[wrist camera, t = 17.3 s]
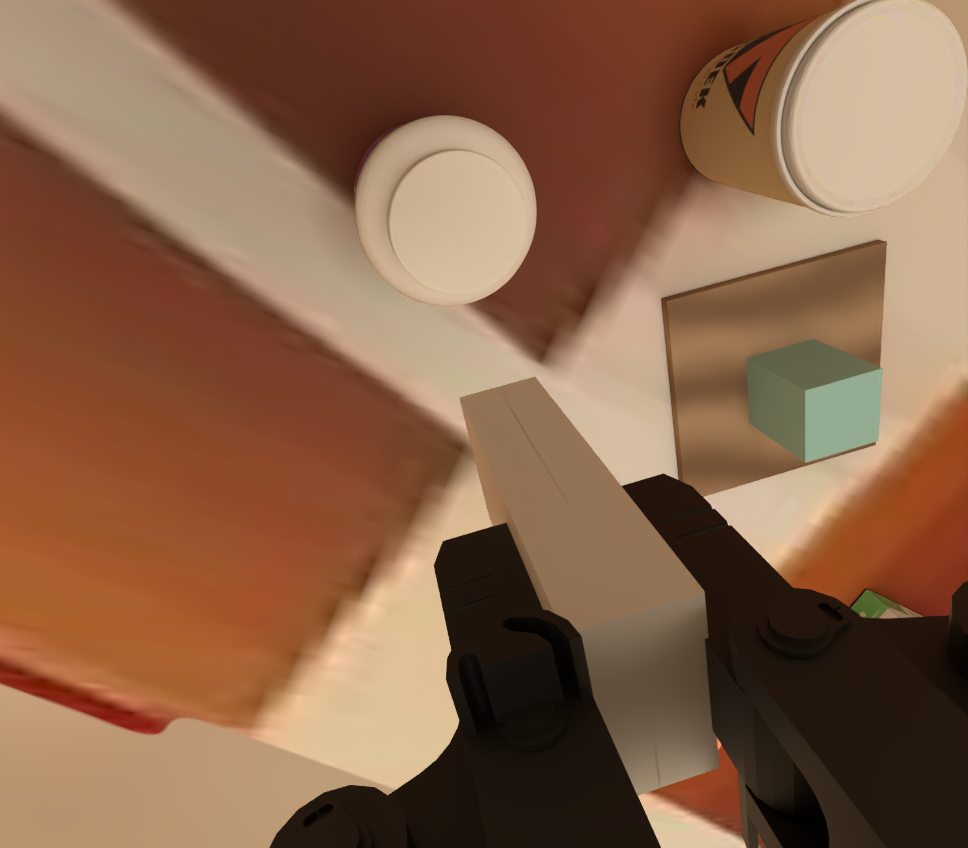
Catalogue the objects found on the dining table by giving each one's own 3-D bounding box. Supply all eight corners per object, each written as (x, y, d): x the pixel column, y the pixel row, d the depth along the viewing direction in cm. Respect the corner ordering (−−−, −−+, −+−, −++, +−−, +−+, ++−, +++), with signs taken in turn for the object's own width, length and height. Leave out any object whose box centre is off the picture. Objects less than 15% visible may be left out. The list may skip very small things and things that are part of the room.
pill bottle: (517, 187, 40) (601, 213, 27) (432, 291, 41) (473, 364, 28) (411, 86, 36) (448, 60, 23) (324, 204, 38) (313, 239, 25)
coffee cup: (762, -10, 38) (929, -67, 27) (831, 125, 42) (1002, 122, 31) (637, 108, 39) (749, 99, 28) (716, 228, 43) (841, 260, 32)
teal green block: (746, 357, 46) (805, 390, 40) (813, 338, 47) (882, 368, 41) (748, 422, 49) (805, 462, 43) (813, 403, 49) (878, 440, 43)
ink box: (831, 626, 60) (935, 731, 50) (866, 585, 59) (981, 684, 48) (888, 653, 63) (998, 758, 53) (923, 615, 62) (1043, 714, 52)
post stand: (661, 298, 44) (704, 320, 39) (878, 239, 46) (947, 253, 40) (680, 496, 51) (718, 537, 46) (868, 440, 52) (926, 474, 47)
